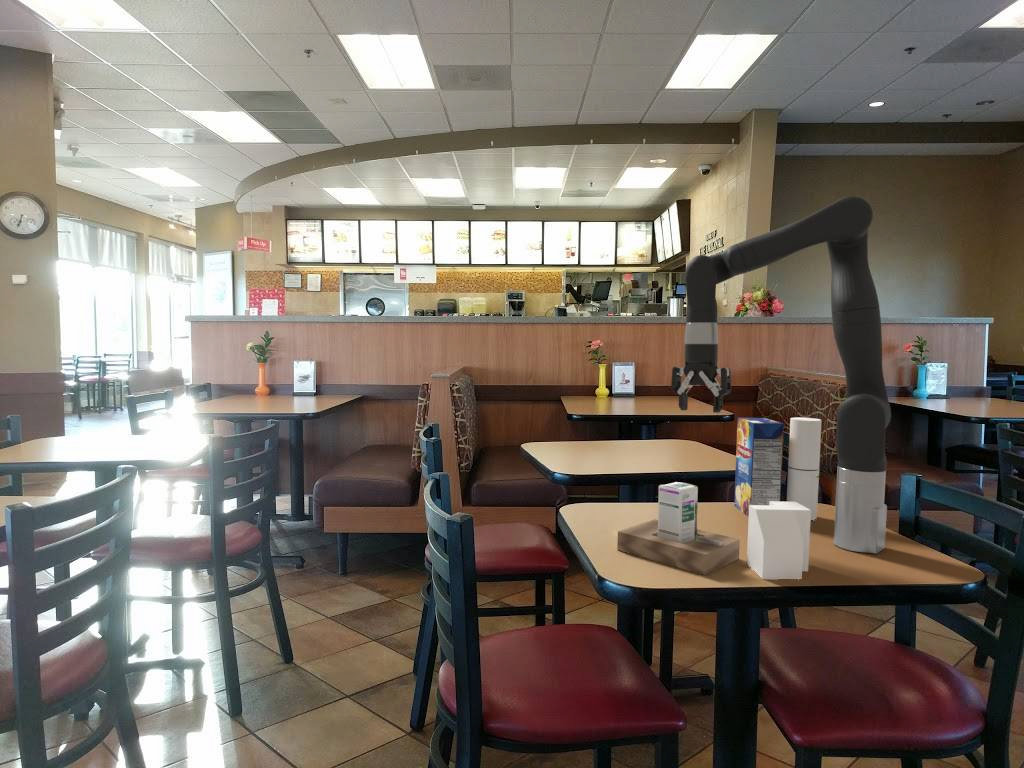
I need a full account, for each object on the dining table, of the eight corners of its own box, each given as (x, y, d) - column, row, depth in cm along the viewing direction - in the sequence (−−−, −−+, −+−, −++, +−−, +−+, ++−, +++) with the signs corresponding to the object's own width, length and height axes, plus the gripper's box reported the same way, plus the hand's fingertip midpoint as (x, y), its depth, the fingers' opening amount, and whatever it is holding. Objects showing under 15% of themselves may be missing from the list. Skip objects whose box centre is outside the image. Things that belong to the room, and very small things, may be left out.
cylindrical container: (779, 514, 167) (784, 418, 165) (799, 512, 170) (804, 417, 168) (802, 521, 161) (807, 421, 159) (823, 519, 164) (828, 420, 162)
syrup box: (679, 560, 130) (682, 489, 129) (656, 553, 135) (658, 484, 134) (696, 555, 134) (699, 485, 133) (673, 547, 138) (675, 480, 137)
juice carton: (734, 505, 176) (737, 417, 174) (761, 506, 175) (765, 417, 174) (749, 517, 164) (753, 423, 162) (779, 518, 164) (783, 423, 162)
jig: (739, 558, 132) (740, 535, 132) (705, 575, 122) (705, 550, 122) (654, 536, 146) (654, 515, 146) (617, 550, 136) (617, 527, 136)
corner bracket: (793, 559, 132) (795, 501, 131) (819, 580, 121) (822, 516, 120) (740, 559, 132) (743, 500, 131) (762, 579, 121) (764, 515, 120)
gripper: (737, 342, 150) (736, 412, 151) (682, 342, 160) (681, 408, 161) (721, 342, 145) (720, 414, 146) (666, 342, 155) (665, 410, 156)
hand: (699, 411), depth 154 cm, fingers open, 8 cm apart
